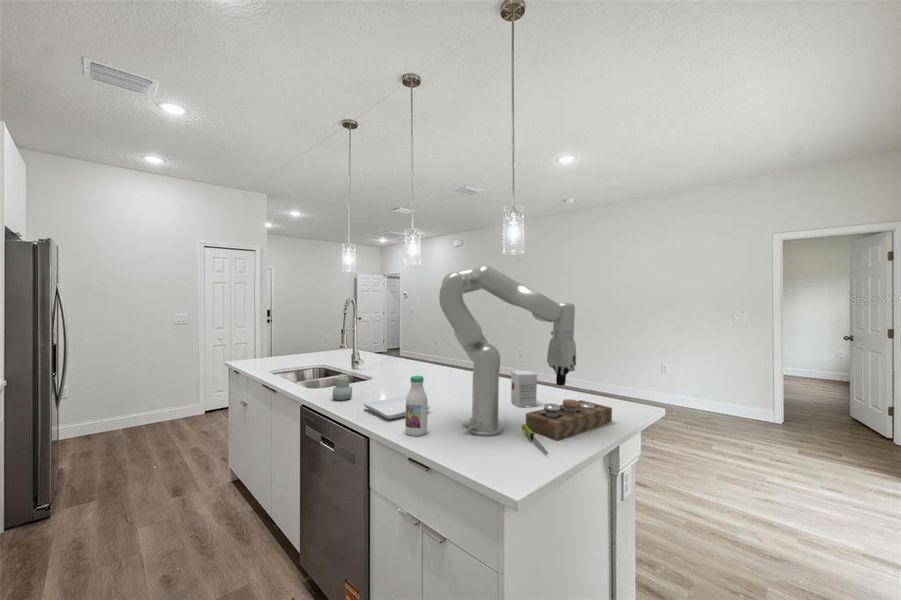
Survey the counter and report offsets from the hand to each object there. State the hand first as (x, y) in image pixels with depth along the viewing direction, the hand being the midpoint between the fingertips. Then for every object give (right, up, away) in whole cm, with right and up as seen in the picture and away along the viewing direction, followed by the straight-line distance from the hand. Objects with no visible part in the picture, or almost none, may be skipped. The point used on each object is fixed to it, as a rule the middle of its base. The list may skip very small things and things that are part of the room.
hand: (560, 384), depth 143 cm
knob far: (+13, -16, +10) cm, 23 cm away
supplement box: (-8, -17, +33) cm, 37 cm away
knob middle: (+4, -13, +3) cm, 14 cm away
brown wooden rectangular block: (+4, -16, +3) cm, 17 cm away
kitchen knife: (-13, -16, -17) cm, 27 cm away
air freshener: (-93, -16, +39) cm, 102 cm away
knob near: (-4, -13, -4) cm, 14 cm away
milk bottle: (-53, -16, -7) cm, 56 cm away
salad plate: (-64, -16, +19) cm, 69 cm away
